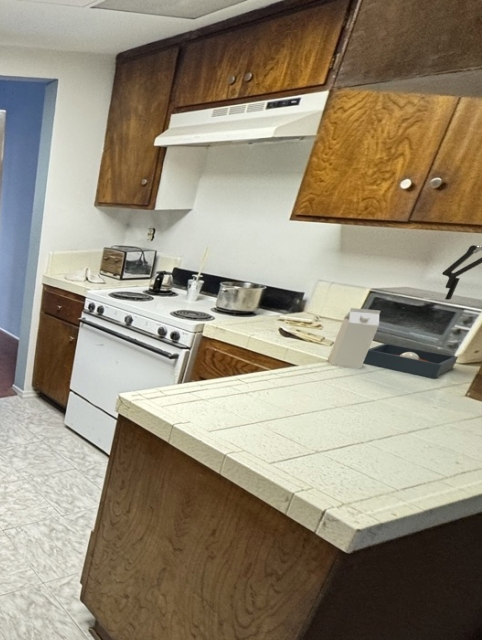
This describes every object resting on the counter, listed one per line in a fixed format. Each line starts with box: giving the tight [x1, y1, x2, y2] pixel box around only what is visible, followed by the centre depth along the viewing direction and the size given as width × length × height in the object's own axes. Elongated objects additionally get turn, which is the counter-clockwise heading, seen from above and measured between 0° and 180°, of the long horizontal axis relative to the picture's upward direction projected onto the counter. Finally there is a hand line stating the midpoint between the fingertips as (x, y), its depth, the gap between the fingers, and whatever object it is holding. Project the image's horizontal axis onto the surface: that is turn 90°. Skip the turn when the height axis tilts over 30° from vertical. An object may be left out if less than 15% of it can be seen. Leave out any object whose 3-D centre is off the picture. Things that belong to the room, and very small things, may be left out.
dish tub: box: [362, 342, 459, 380], centre depth 155 cm, size 18×18×5 cm
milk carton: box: [327, 307, 381, 370], centre depth 153 cm, size 7×7×19 cm
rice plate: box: [397, 352, 428, 362], centre depth 154 cm, size 10×10×5 cm
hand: (480, 302), depth 143 cm, fingers open, 13 cm apart
